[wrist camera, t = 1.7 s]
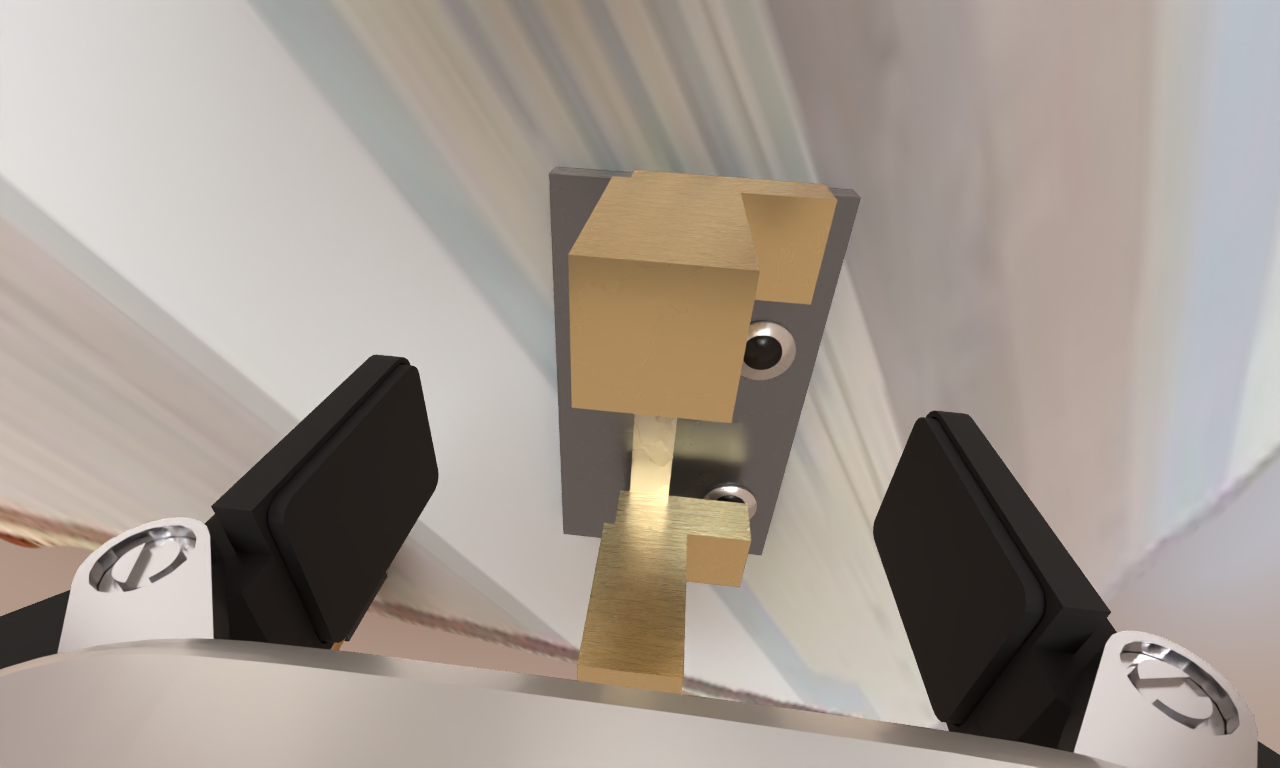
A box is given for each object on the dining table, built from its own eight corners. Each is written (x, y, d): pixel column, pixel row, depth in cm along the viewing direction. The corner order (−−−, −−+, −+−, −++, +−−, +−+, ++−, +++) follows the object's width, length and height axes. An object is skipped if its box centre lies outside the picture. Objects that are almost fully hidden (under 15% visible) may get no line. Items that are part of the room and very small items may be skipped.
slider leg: (624, 155, 20) (568, 254, 11) (820, 170, 19) (913, 283, 11) (620, 259, 22) (571, 407, 13) (796, 274, 22) (858, 435, 13)
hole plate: (555, 166, 22) (434, 288, 12) (853, 189, 21) (990, 337, 11) (567, 518, 34) (511, 729, 24) (759, 539, 33) (785, 764, 23)
